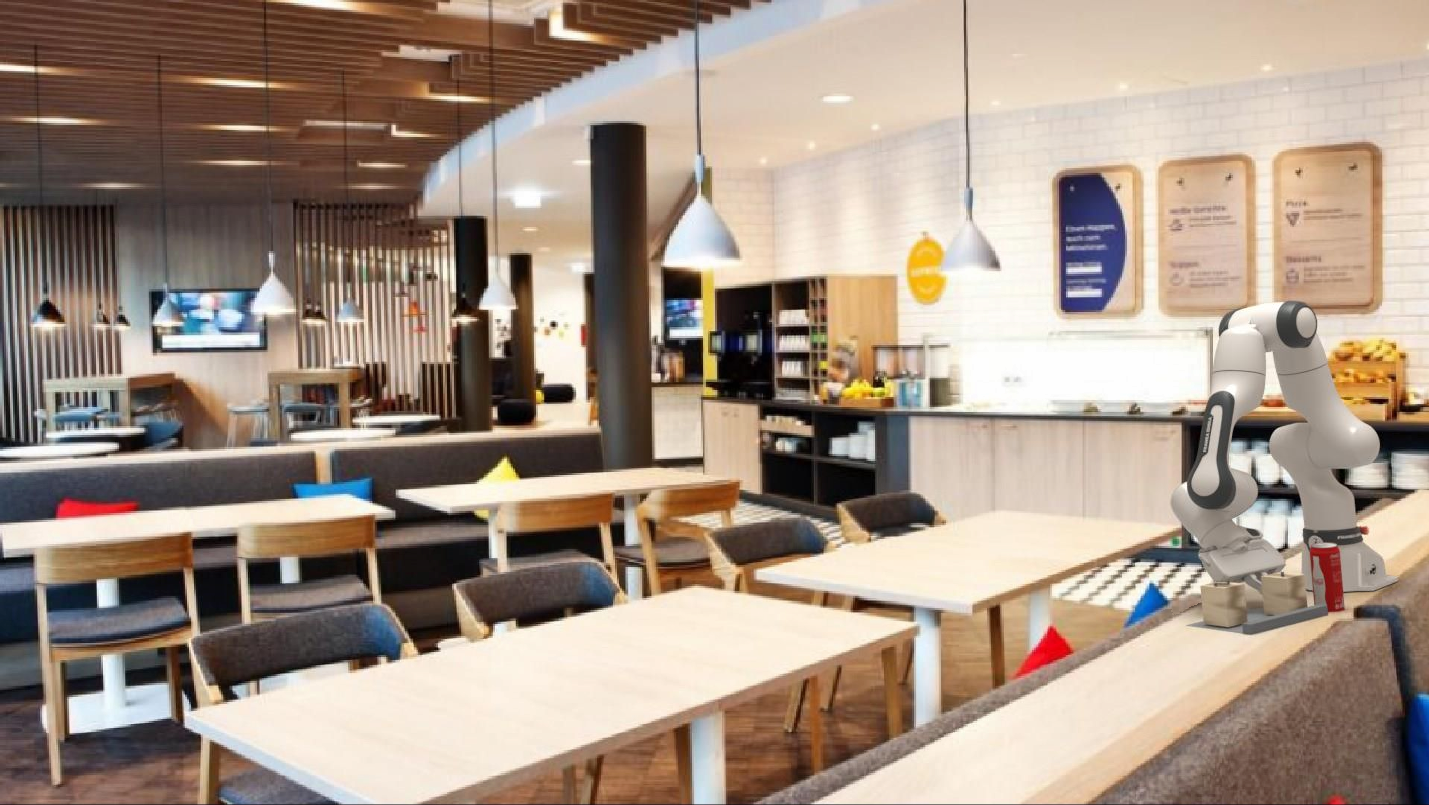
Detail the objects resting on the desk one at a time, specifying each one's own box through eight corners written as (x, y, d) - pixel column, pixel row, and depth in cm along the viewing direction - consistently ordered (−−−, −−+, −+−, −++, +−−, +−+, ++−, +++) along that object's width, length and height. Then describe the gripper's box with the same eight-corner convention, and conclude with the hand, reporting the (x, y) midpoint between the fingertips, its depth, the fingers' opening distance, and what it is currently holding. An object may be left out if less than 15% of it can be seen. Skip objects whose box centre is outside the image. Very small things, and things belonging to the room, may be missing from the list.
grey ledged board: (1261, 611, 266) (1259, 597, 266) (1328, 619, 252) (1327, 605, 252) (1186, 630, 255) (1184, 615, 255) (1252, 639, 241) (1250, 624, 241)
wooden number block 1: (1282, 609, 260) (1279, 570, 260) (1308, 612, 255) (1304, 572, 255) (1264, 613, 258) (1260, 574, 258) (1289, 617, 252) (1285, 576, 252)
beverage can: (1338, 610, 260) (1332, 540, 260) (1351, 616, 254) (1344, 544, 254) (1309, 612, 261) (1303, 543, 261) (1321, 618, 254) (1315, 546, 254)
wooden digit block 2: (1223, 619, 256) (1219, 579, 256) (1247, 622, 251) (1244, 581, 251) (1203, 624, 253) (1200, 583, 253) (1228, 627, 248) (1224, 586, 248)
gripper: (1201, 540, 261) (1244, 590, 253) (1264, 528, 271) (1307, 575, 262) (1186, 560, 265) (1228, 609, 257) (1248, 547, 275) (1291, 594, 266)
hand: (1269, 592), depth 260 cm, fingers closed, pressing on wooden number block 1
